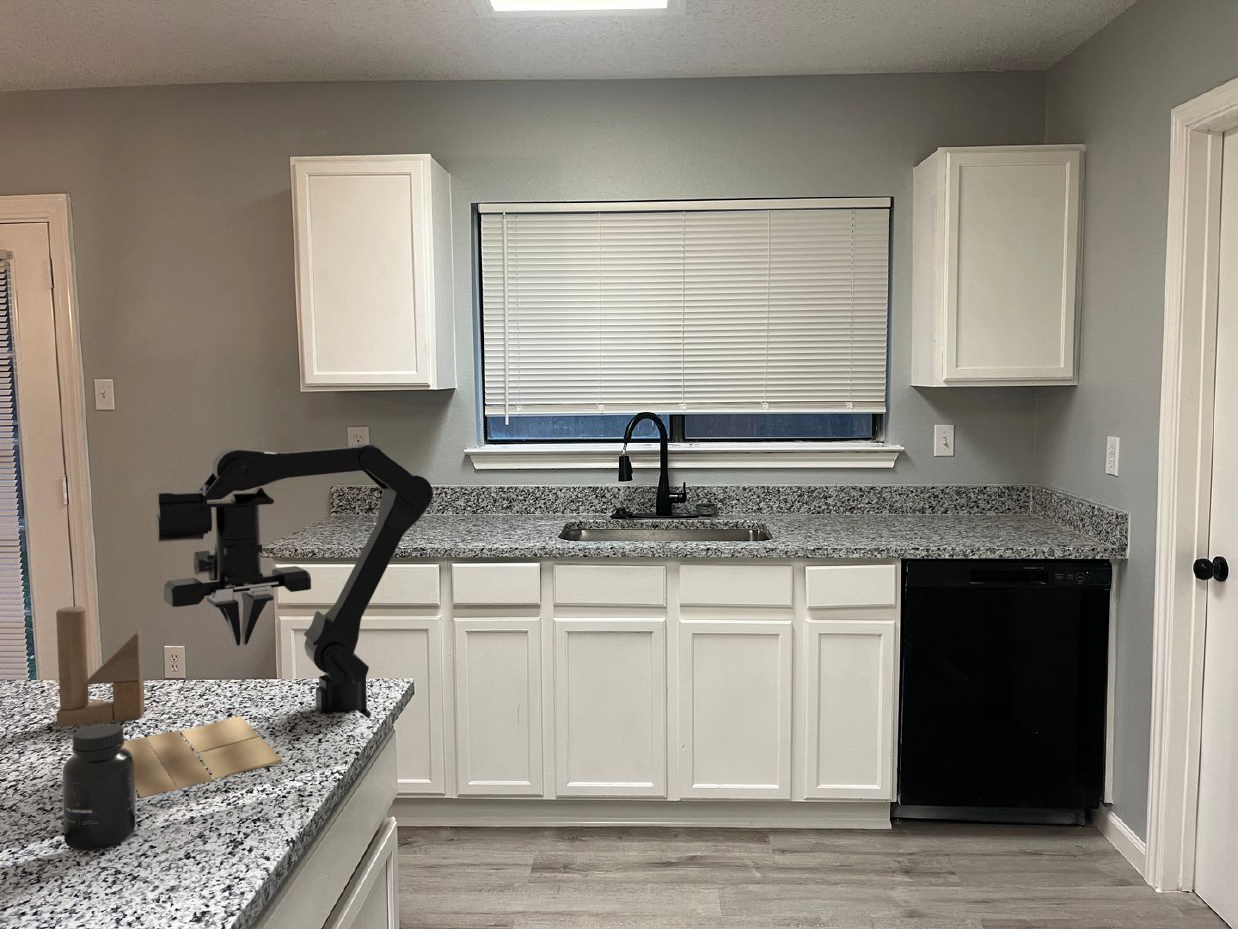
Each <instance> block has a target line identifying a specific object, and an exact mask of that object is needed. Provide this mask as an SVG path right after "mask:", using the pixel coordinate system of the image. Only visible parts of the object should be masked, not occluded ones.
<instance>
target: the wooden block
mask: <svg viewBox="0 0 1238 929" xmlns="http://www.w3.org/2000/svg"><path fill="white" fill-rule="evenodd" d="M55 616H56V619H55V620H56V638H57V639H56V640H57V642H56V643H57V665H58V687H59V688H58V689H59V692H58V694H59V707H60V708H59V709H58V710H57V711H56V712H55V713H56V714H55V715H56V718H55V719H56V727H57V728H61V727H69V726H78V725H80V726H81V725H90V724H102V723H109V722H113V721H114V722H121V721H128V720H138V719H139V720H140V719H141V718H143V715H144V714H145V710H146V707H145V706H146V705H145V680H144V678H145V677H144V675H143V674H144V656H143V650H144V649H143V628H142V627H139V628H138V629H137V630H136V631H135V632H134V633H133V634H132V635H131V636H130V637H129V638H128V639H127V640H126V641H125V642H124V643H123V644H122V645H121V646H120V647H119V648H117V650H116V651H115V652H114V653H113V654H111V656H110V657H109V658H108V659H106V661H105V662H103V664H101V666H100V667H99V668H98V669H97V670H95V672H93V673H92V674H91V675H90V677H89V671H88V647H87V646H88V644H87V642H88V641H87V640H88V639H87V619H86V617H87V616H86V608H85V607H83V606H66V607H63V608H59V609H57V610H56V612H55ZM111 683H112V702H110V701H106V700H98V701H97V700H96V701H90V696H89V685H98V684H99V685H100V684H111Z"/></svg>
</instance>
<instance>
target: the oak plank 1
mask: <svg viewBox="0 0 1238 929" xmlns="http://www.w3.org/2000/svg"><path fill="white" fill-rule="evenodd" d="M180 734H181V735H182V736H183V738H185V739H186V742H188V744H189V745H190V746H191V747H192V750H194V752H196V754H198V753H202V752H206V751H209V750H213V749H217V748H221V747H224V746H228V745H232V744H235V743H239V742H243V741H246V740H250V739H254V738H258V737H260V735H259V734H258V732H256V731H255V730H254V729H253V728H252V726H251V725H250V724H249V723H248V722H247V721H246V720H245V719H244V718H243V717H242V716H241V715H238V716H236V717H232V718H227V719H223V720H220V721H215V722H211V723H207V724H204V725H201V726H200V725H199V726H197V727H192V728H188V729H184V730H181V731H180Z"/></svg>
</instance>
